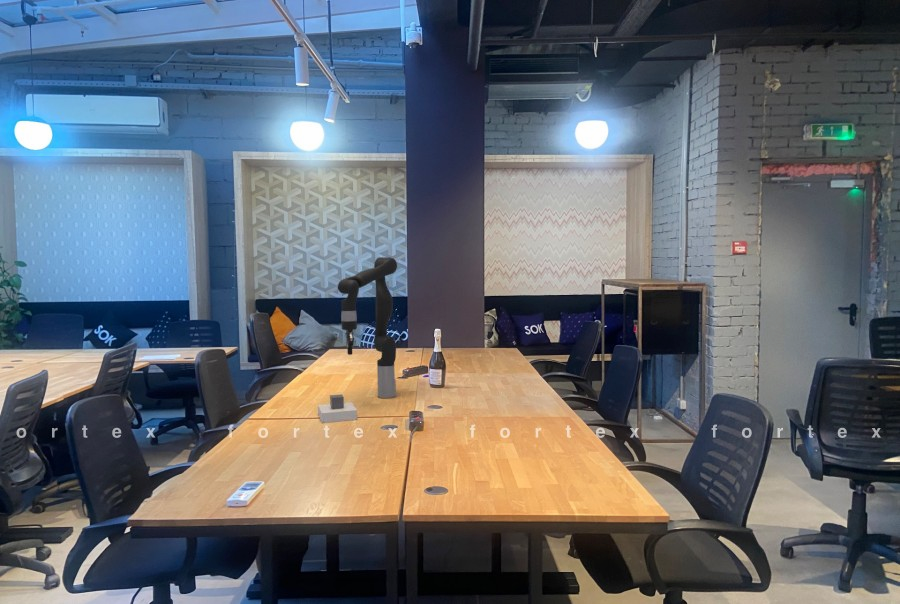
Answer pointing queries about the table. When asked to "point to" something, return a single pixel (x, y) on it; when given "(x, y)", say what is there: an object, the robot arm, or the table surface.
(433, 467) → the table surface
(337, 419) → the socket block
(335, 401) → the plug
